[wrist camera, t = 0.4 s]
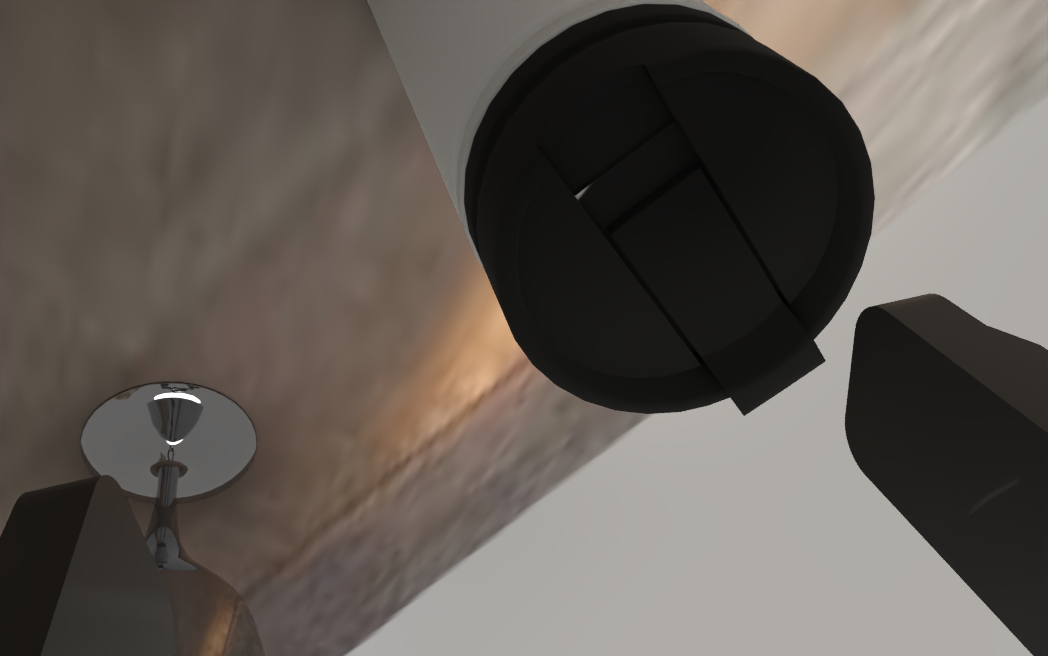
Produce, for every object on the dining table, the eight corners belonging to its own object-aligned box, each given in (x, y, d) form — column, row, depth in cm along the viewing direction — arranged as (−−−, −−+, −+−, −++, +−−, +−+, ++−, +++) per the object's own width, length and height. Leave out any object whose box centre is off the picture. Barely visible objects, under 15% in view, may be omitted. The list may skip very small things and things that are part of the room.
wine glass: (121, 346, 33) (53, 690, 21) (300, 414, 37) (324, 731, 26) (36, 479, 36) (-65, 850, 24) (212, 528, 40) (199, 863, 28)
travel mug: (441, 99, 31) (643, 495, 15) (317, -55, 27) (416, 267, 11) (579, -11, 30) (946, 291, 14) (471, -188, 26) (818, -38, 10)
